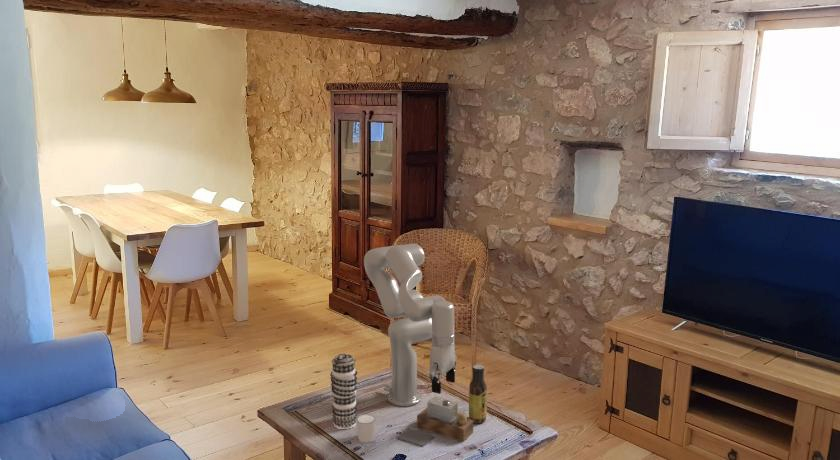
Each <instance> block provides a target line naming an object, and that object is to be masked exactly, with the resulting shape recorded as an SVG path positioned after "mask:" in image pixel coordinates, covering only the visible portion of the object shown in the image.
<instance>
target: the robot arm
mask: <svg viewBox="0 0 840 460" xmlns="http://www.w3.org/2000/svg"><path fill="white" fill-rule="evenodd" d="M425 255H426V254H425V252H424V249H423V248H422V247H421V246H420V245H419V244H417V243H408V244H407V243H406V244H396V245H390V246H383V247H382V246H381V247H376V248H373V249H370V250H367V252H366V253H365V255H364V257H363V265H364V269H365V273H366V275H367V277H368V279H369V280H370V282H371V283H372V285H373V286H374V288H375V290H376V294H377V296H378V298H379V299H378V300H379V301H380V304H381V307H382V309H383V312H384V314H385V315H386V317H387V318H389V319H396V320H394V321H391V323H390V324H389V325H388V329H387V332H388V338H389V343H390V352H391V353H390V355H391V356H390V362H391V383H389V382H385V383H384V388H383V390H384V391H386V392H389V393H388V395H387V401H388V402H389V403H390V404H392V405H393V406H397V407H410V406H412V407H413V406H415V405H417V404H419V403H420V402H421V400H422V394H421V393H420V392H419V391H418V356H417V355H418V354H417V352H416V350H415V349H414V348H413V347H412V344H415V343H418V342H423V341H427V340H430V339H431V346H430V354H429V372H428V375H429V379H430V382H431V392H432V393H435V394H439V395H440V394H441V393H442V382H441V379H442V376H444V375H445V381H446V382H449V383H452V384H453V383H455V382H456V365H457V360H458V359H457V358H458V355H456V347H455V306H454V304H453V303H452V302H451V301H447V300H446V299H445V298H444V297H443V296H441V295H439V294H438V295H437V294H436V295H431V296H430V295H429V296H424V297H423V295H422V293H421V292H420V291H419V290H417V289H414V288H415V287H416V286H418V285H419V283H420V282H422V279H423V273H422V270H421V269H420V268H419V266H421V265H423V263H425V260H426V258H425ZM389 269H390V270H391V271H392V273H393V274H394V276H395V277H396V278H395V277H394V276H393V275H392V274H390V273H389V272H387V271H386V270H389ZM397 280H398V281H397ZM398 282H399V283H400V285H399V283H398ZM403 317H405V318H403ZM397 318H398V319H397Z"/></svg>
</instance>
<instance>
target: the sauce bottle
mask: <svg viewBox="0 0 840 460" xmlns="http://www.w3.org/2000/svg"><path fill="white" fill-rule="evenodd" d="M484 374H485V366H484V365H482V364H475V365H472V379H471V381H470V383H469V391H468V419H471V420H473V424H482V423H485V422H486V420H487V410H488V408H487V406H488V405H487V404H488V403H487V402H488V386H487V385H486V382H485V375H484Z"/></svg>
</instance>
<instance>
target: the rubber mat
mask: <svg viewBox="0 0 840 460" xmlns="http://www.w3.org/2000/svg"><path fill="white" fill-rule="evenodd" d="M434 437H435V436H434V435H432V434H429V433H426V432H423V431H419V430H418V429H417V430H416V429H413V428H410V427H408V428H406V429H405V430H404V431H402V432H401V434H399V435H398V436H397V437H396V439H398V440H400V441H404V442H408V443H410V444H414V445H415V446H419V447H422V448H423V447H425V446H426V445H427V444H428V443H430V441H431V440H432V439H433V438H434Z"/></svg>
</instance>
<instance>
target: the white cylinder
mask: <svg viewBox="0 0 840 460" xmlns="http://www.w3.org/2000/svg"><path fill="white" fill-rule="evenodd" d="M376 426H377V417H376V416H375V415H373V414H369V413H366V414H365V413H364V414H361V415H357V418H356V426H355V427H356V434H357V440H358V439H359V440H358V441H359V442H361V443H364V442H365V443H372V442H373V441H374V440H376V439H375V438H376Z"/></svg>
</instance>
